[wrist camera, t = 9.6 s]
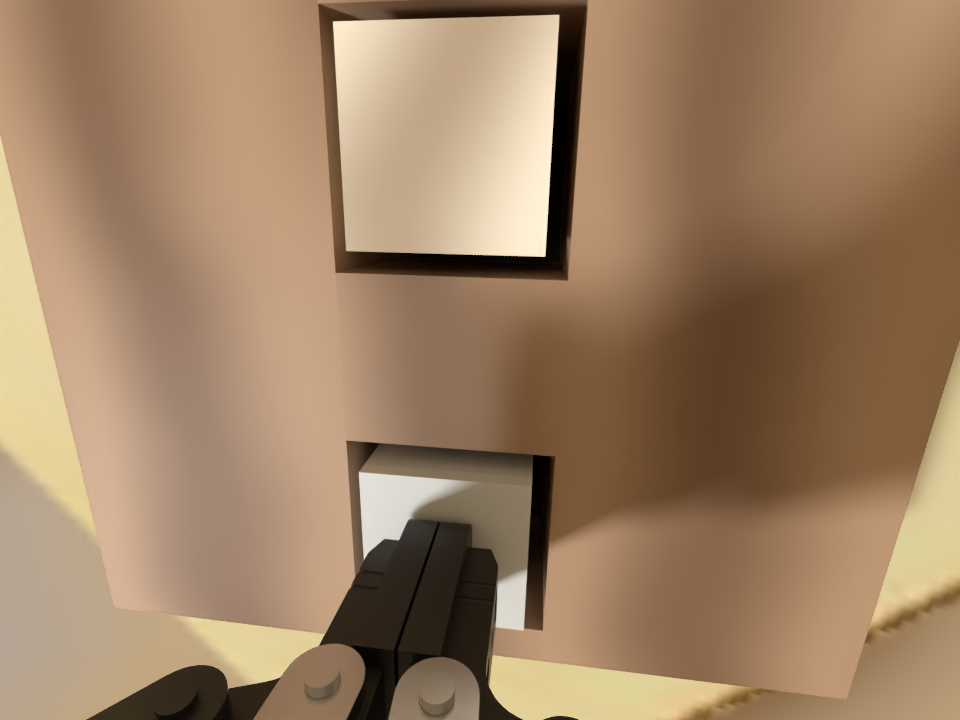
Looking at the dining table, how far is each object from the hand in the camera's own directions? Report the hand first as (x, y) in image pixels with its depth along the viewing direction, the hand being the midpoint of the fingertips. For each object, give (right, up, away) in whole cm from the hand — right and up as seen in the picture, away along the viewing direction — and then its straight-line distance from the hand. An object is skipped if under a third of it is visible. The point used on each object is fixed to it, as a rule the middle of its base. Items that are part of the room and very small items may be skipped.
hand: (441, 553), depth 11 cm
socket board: (+1, +6, +4) cm, 7 cm away
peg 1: (+1, +10, +2) cm, 10 cm away
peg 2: (+1, +1, +5) cm, 5 cm away
